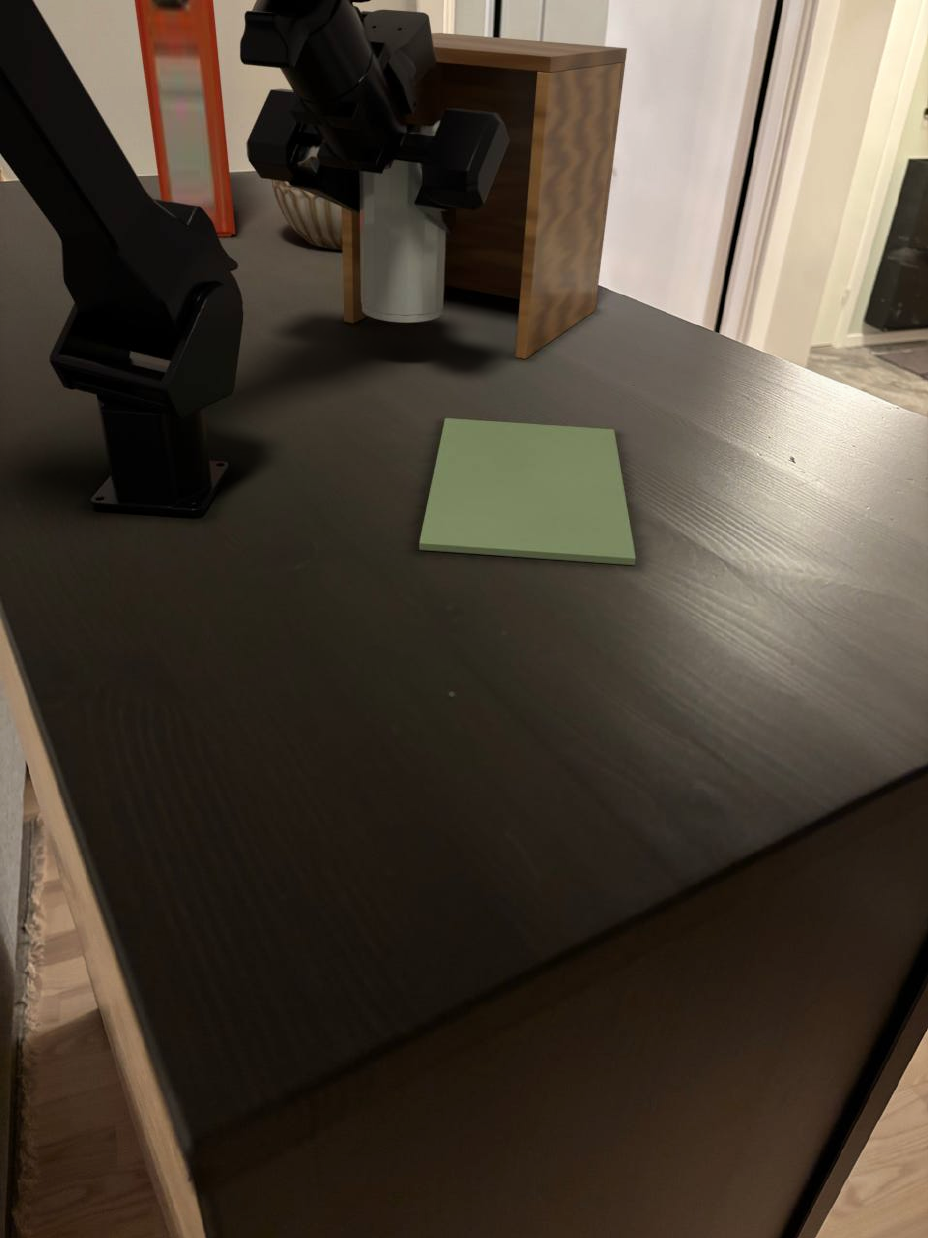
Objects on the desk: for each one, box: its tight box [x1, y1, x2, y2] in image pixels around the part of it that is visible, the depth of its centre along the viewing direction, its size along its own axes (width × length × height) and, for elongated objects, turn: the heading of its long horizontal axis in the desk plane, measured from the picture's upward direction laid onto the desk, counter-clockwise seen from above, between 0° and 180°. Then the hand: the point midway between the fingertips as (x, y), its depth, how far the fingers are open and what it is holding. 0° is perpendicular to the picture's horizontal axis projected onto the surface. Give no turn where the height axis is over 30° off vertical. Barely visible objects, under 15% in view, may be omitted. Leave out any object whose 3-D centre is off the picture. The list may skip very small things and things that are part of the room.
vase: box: [271, 180, 343, 251], centre depth 106 cm, size 16×16×20 cm
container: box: [359, 160, 447, 324], centre depth 74 cm, size 7×7×13 cm
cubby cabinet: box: [342, 32, 628, 360], centre depth 83 cm, size 17×18×22 cm
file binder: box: [134, 0, 236, 238], centre depth 108 cm, size 8×17×32 cm, turn 14°
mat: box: [418, 417, 637, 566], centre depth 60 cm, size 18×12×1 cm, turn 176°
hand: (412, 221), depth 75 cm, fingers closed on container, 6 cm apart
